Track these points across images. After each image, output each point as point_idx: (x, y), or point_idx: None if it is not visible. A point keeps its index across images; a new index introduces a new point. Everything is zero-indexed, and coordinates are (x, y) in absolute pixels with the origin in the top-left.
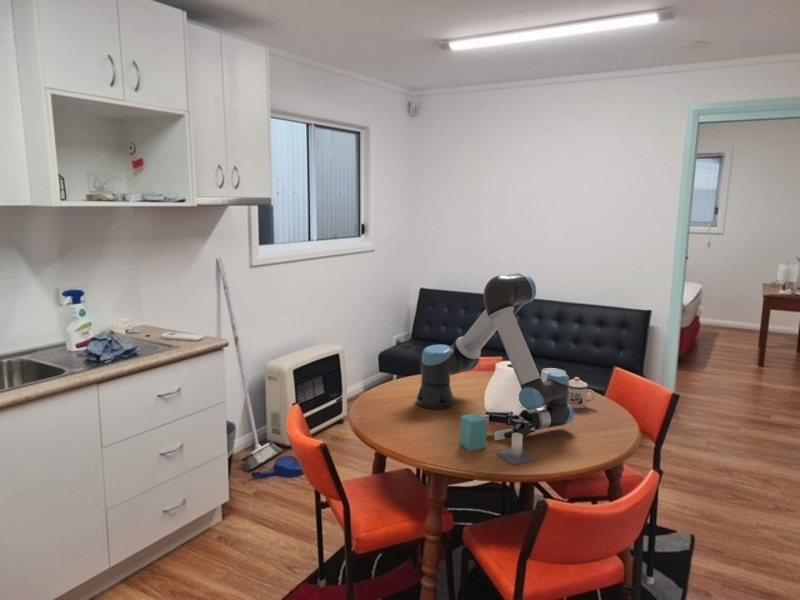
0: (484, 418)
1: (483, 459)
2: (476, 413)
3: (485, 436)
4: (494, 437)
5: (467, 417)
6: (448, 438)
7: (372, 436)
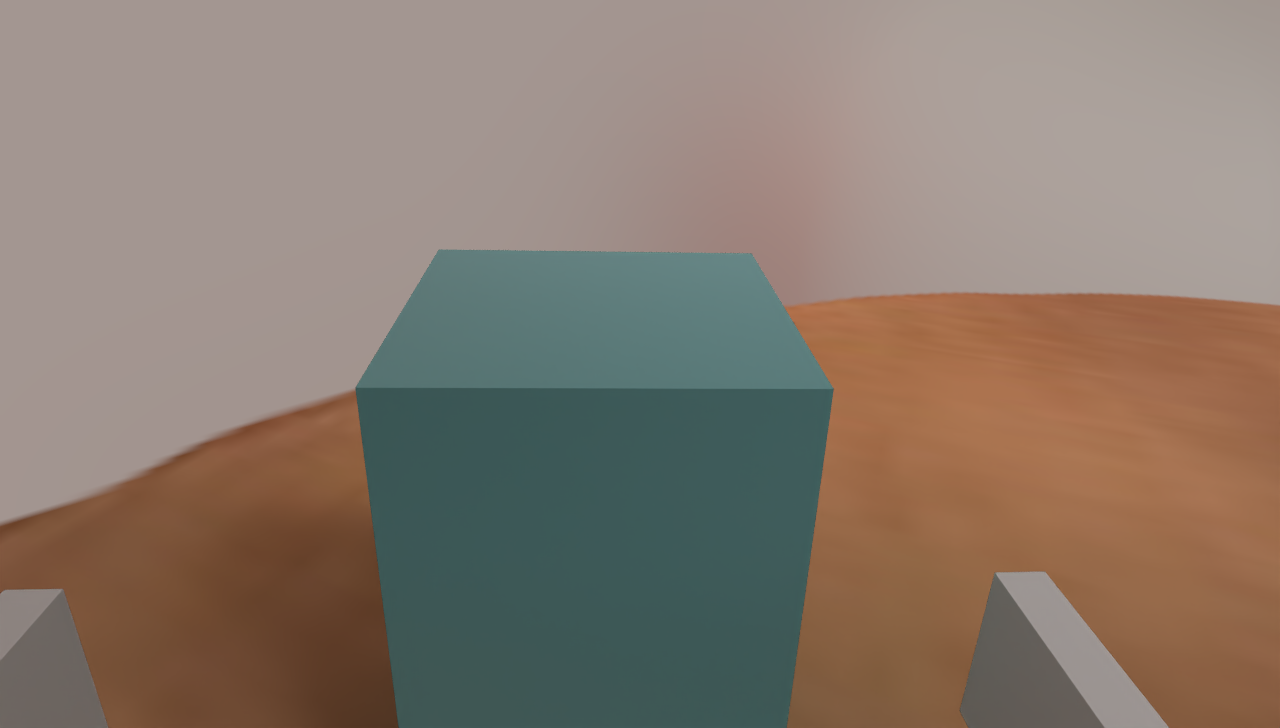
0: (451, 382)
1: (159, 673)
2: (821, 382)
3: (402, 710)
4: (91, 697)
5: (649, 269)
6: (913, 599)
7: (970, 302)
